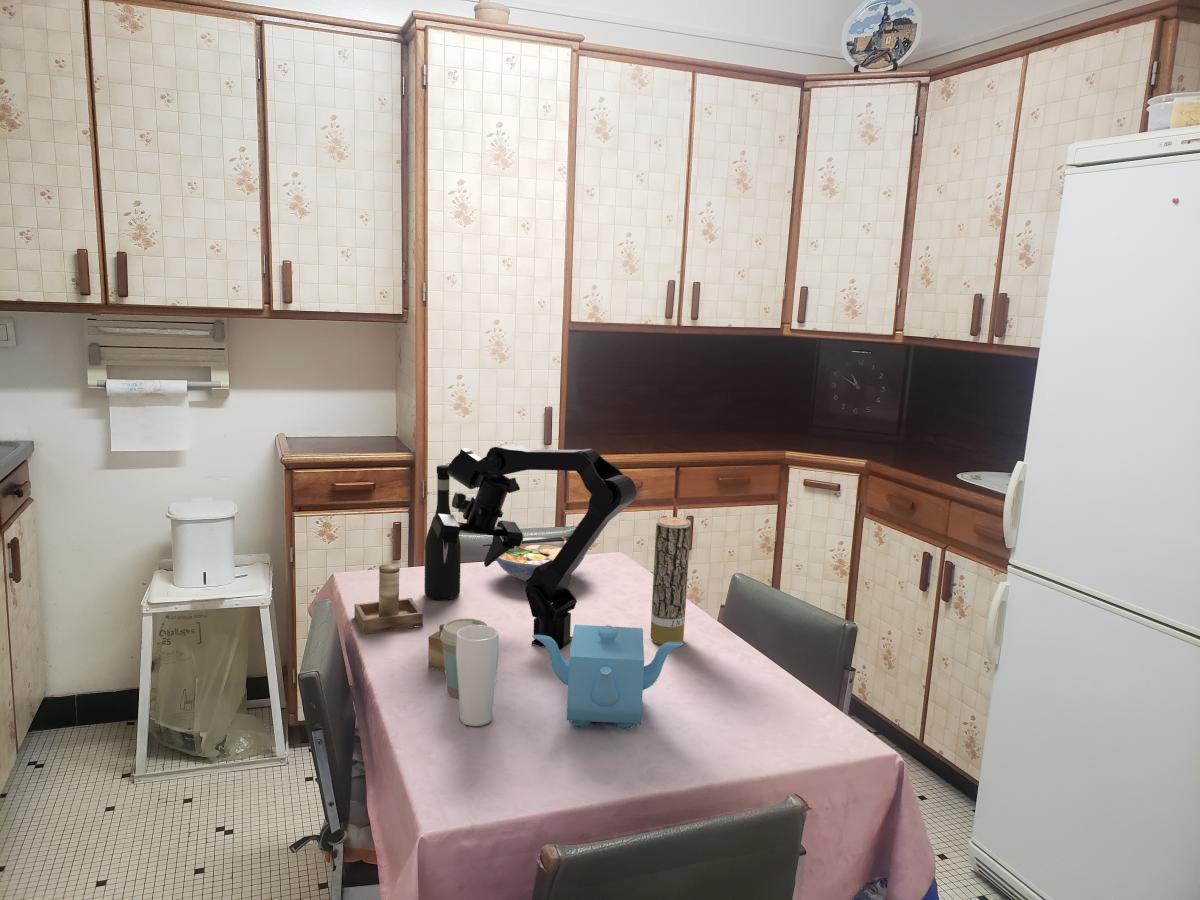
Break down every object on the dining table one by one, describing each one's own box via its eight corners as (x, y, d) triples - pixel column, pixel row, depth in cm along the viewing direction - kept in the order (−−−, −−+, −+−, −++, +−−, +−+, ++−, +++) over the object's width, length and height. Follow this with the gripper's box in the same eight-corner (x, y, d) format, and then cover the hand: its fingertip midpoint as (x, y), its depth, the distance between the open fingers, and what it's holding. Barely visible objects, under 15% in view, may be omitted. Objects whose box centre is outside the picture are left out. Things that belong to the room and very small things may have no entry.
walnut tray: (411, 610, 191) (411, 597, 191) (422, 626, 182) (423, 613, 182) (354, 616, 186) (354, 604, 186) (363, 633, 177) (363, 620, 177)
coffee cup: (479, 705, 149) (481, 638, 146) (431, 699, 150) (432, 632, 148) (495, 684, 157) (497, 620, 155) (450, 678, 158) (450, 614, 156)
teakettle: (606, 680, 161) (609, 602, 158) (684, 717, 147) (688, 633, 145) (524, 710, 148) (526, 626, 145) (602, 754, 134) (605, 663, 132)
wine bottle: (417, 595, 201) (417, 465, 196) (444, 587, 207) (446, 461, 202) (439, 604, 196) (440, 471, 190) (467, 595, 202) (469, 466, 196)
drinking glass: (462, 733, 139) (464, 643, 136) (449, 714, 145) (450, 627, 142) (503, 725, 142) (505, 636, 140) (488, 707, 148) (490, 622, 146)
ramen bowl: (500, 599, 200) (501, 564, 199) (477, 569, 221) (477, 537, 220) (603, 590, 209) (605, 557, 208) (571, 562, 230) (572, 531, 229)
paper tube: (645, 643, 178) (651, 522, 174) (656, 631, 185) (662, 515, 180) (677, 649, 176) (685, 527, 171) (687, 637, 182) (694, 519, 178)
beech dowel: (402, 617, 184) (403, 567, 183) (386, 622, 181) (387, 571, 179) (390, 612, 187) (391, 562, 185) (374, 617, 184) (375, 566, 182)
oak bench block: (437, 661, 165) (437, 621, 164) (484, 672, 162) (484, 630, 160) (428, 667, 163) (428, 626, 161) (475, 678, 159) (476, 636, 158)
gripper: (516, 486, 191) (492, 546, 196) (435, 475, 181) (413, 539, 186) (535, 513, 182) (510, 575, 187) (451, 503, 172) (427, 569, 177)
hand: (465, 564), depth 185 cm, fingers open, 9 cm apart
